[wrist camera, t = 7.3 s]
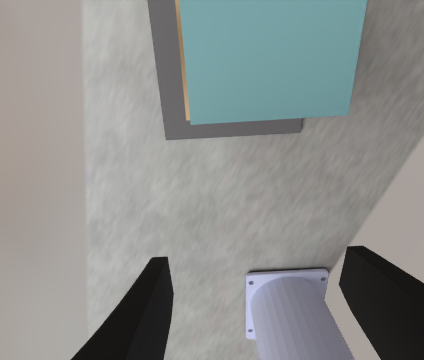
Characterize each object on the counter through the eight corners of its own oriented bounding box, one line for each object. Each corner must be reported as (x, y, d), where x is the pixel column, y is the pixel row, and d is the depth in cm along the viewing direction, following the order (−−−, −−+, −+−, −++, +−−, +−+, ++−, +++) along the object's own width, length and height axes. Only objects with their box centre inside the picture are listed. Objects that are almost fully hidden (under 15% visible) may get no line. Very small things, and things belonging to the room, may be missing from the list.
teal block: (294, 101, 11) (348, 115, 7) (197, 107, 11) (190, 124, 7) (304, -22, 9) (384, -105, 5) (187, -14, 9) (170, -90, 5)
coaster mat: (298, 131, 18) (300, 132, 17) (166, 138, 18) (166, 140, 18) (314, -38, 14) (317, -42, 14) (145, -28, 14) (143, -31, 14)
